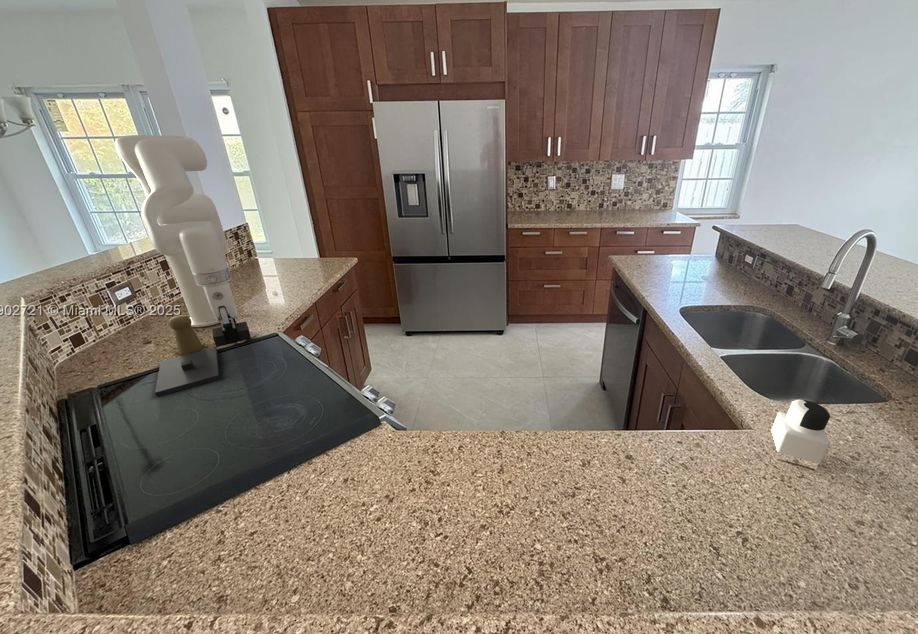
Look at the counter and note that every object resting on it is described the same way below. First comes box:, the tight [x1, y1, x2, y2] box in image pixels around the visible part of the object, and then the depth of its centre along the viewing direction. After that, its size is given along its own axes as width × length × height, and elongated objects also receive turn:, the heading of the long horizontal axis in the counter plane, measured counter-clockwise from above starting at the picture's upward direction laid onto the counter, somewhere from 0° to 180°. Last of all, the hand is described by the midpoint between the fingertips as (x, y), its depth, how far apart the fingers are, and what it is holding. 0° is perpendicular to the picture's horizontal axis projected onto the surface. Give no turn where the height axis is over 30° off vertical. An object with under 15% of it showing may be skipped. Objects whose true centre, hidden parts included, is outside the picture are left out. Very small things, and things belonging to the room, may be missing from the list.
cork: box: [168, 314, 204, 355], centre depth 111 cm, size 6×6×11 cm
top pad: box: [211, 321, 252, 348], centre depth 102 cm, size 6×8×3 cm
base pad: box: [154, 347, 221, 397], centre depth 102 cm, size 18×13×3 cm
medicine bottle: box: [770, 399, 831, 465], centre depth 74 cm, size 7×7×12 cm
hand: (232, 336), depth 103 cm, fingers closed on top pad, 6 cm apart
